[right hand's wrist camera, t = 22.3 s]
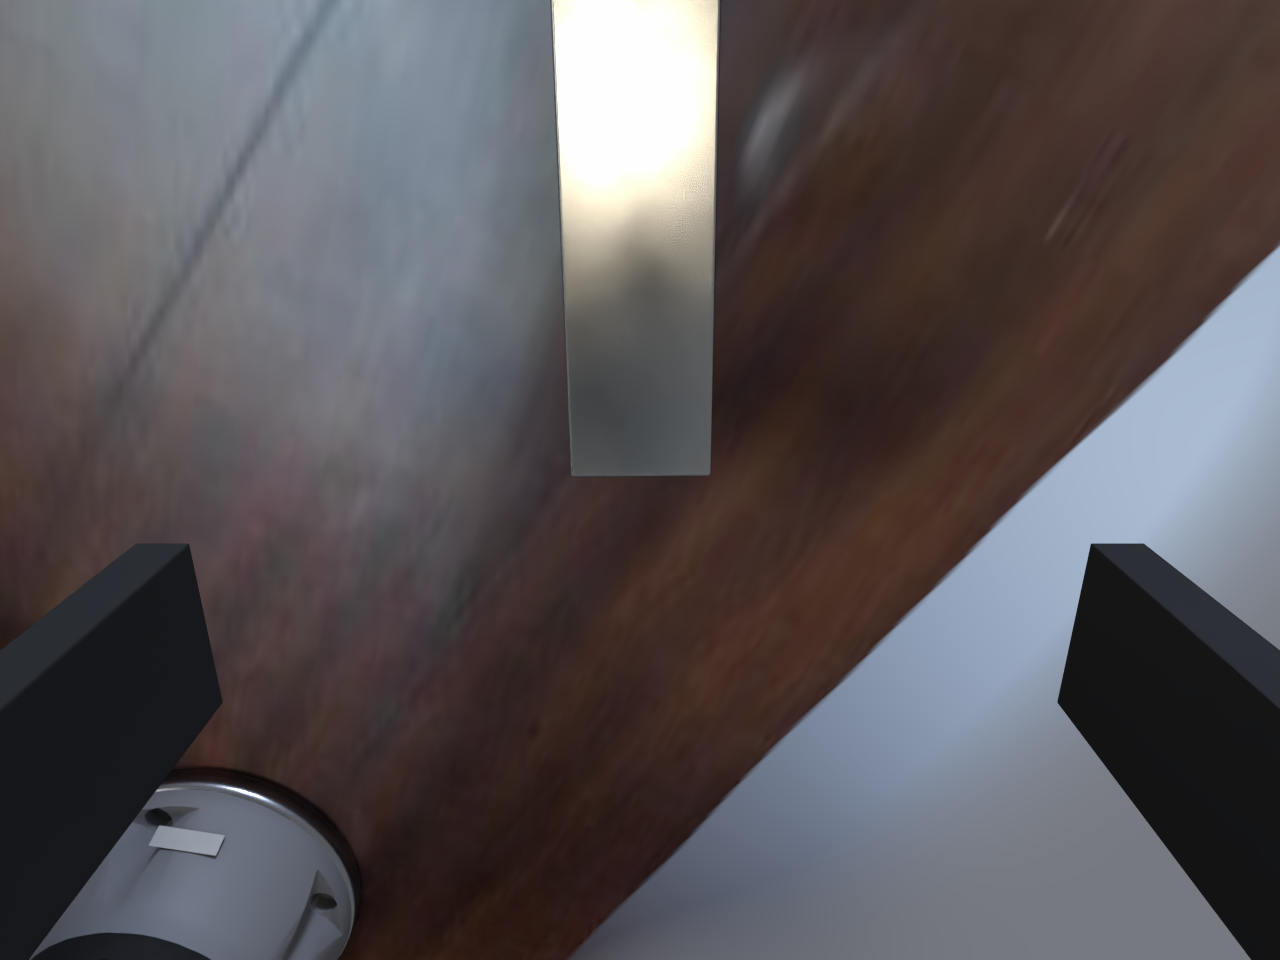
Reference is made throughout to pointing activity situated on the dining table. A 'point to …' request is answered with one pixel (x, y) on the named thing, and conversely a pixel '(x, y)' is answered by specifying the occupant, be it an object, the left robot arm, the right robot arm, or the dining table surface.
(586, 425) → the bar
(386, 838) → the dining table surface
